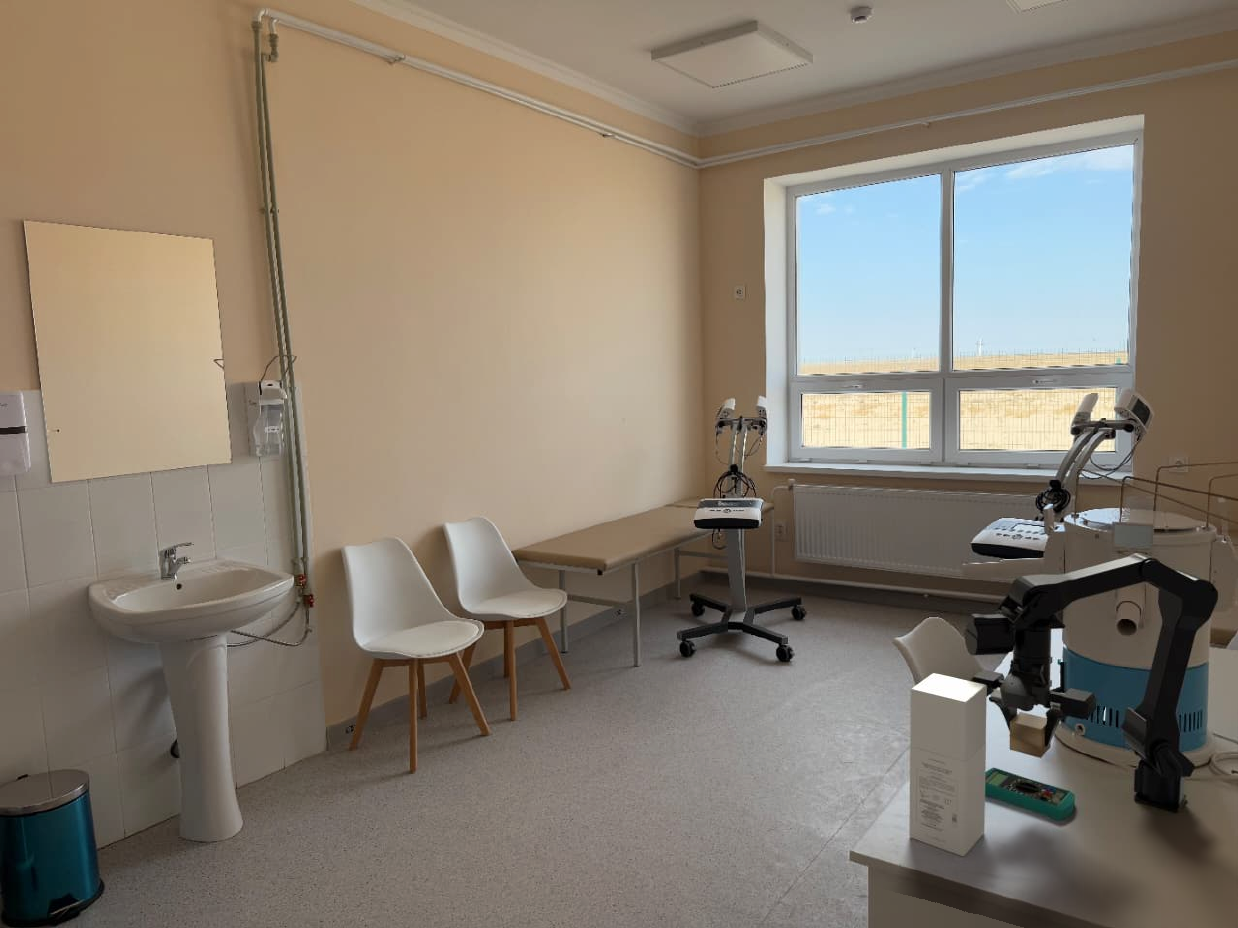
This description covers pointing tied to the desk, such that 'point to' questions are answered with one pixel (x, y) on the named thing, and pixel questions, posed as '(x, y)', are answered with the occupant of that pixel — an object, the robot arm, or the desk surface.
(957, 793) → the tall white carton
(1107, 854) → the desk surface
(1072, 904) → the desk surface
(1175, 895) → the desk surface
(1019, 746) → the walnut cube
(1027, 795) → the digital multimeter
